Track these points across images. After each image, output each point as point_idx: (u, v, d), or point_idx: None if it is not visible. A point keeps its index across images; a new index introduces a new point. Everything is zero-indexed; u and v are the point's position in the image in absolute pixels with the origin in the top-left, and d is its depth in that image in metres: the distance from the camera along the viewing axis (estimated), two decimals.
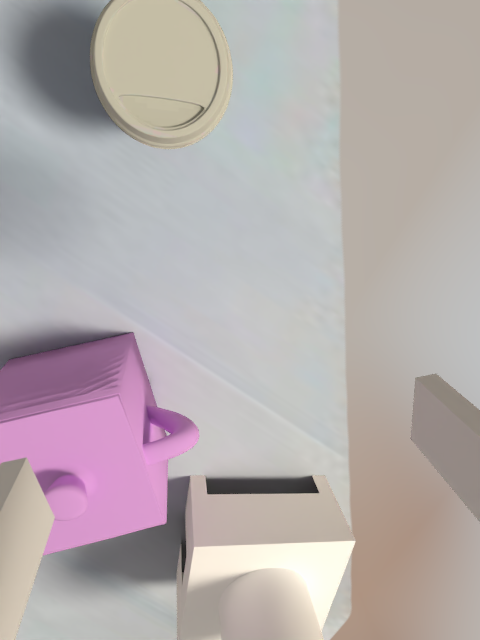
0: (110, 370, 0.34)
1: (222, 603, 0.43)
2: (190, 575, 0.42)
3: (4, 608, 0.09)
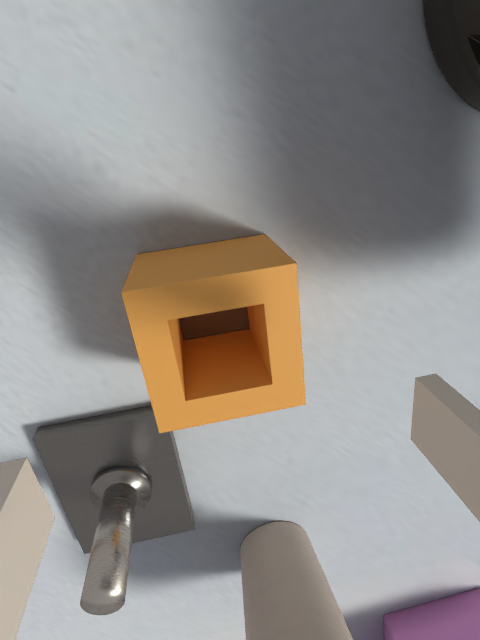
0: None
1: None
2: None
3: (4, 608, 0.09)
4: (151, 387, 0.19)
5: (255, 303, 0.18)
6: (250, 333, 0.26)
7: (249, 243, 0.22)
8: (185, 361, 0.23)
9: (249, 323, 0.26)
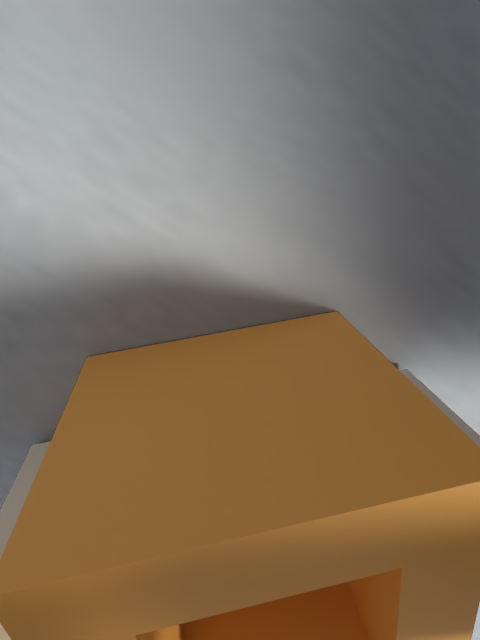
0: None
1: None
2: None
3: None
4: None
5: (380, 570, 0.07)
6: None
7: (317, 343, 0.11)
8: None
9: None
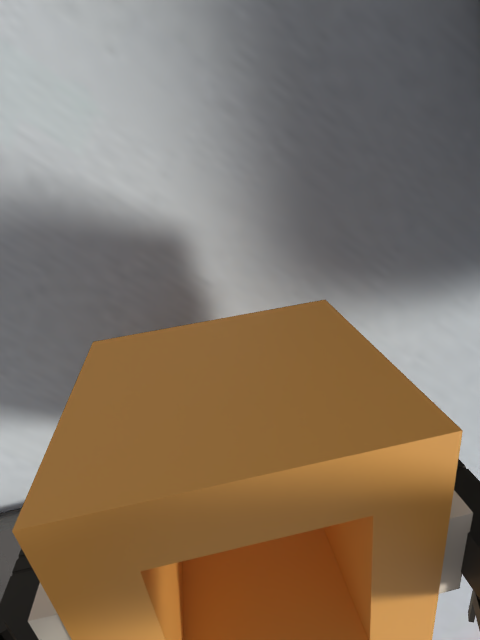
0: None
1: None
2: None
3: None
4: None
5: (353, 517, 0.07)
6: None
7: (305, 327, 0.12)
8: None
9: None
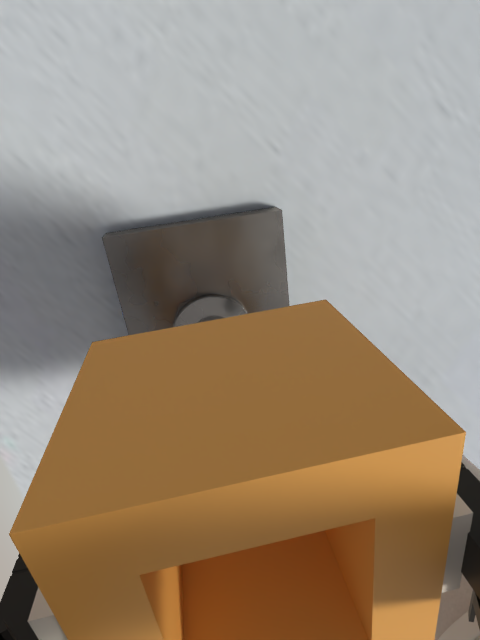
0: None
1: None
2: None
3: None
4: None
5: (355, 520, 0.07)
6: None
7: (306, 328, 0.11)
8: None
9: None
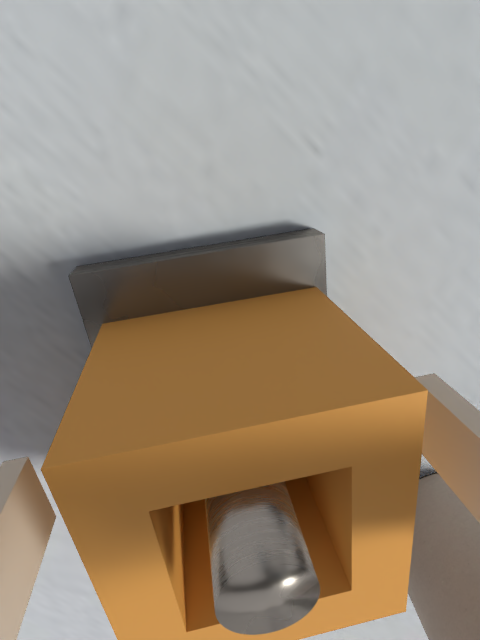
0: None
1: None
2: None
3: (5, 607, 0.10)
4: (118, 620, 0.09)
5: (334, 467, 0.09)
6: None
7: (297, 310, 0.13)
8: (185, 503, 0.14)
9: None
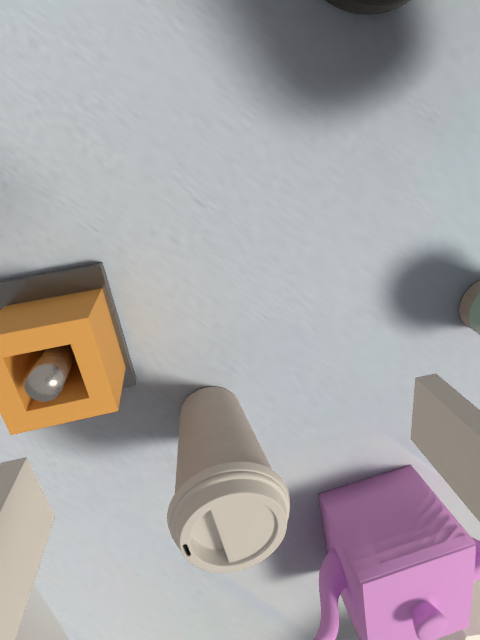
0: (438, 514, 0.43)
1: None
2: None
3: (4, 608, 0.09)
4: None
5: (64, 344, 0.27)
6: None
7: (82, 297, 0.31)
8: None
9: None
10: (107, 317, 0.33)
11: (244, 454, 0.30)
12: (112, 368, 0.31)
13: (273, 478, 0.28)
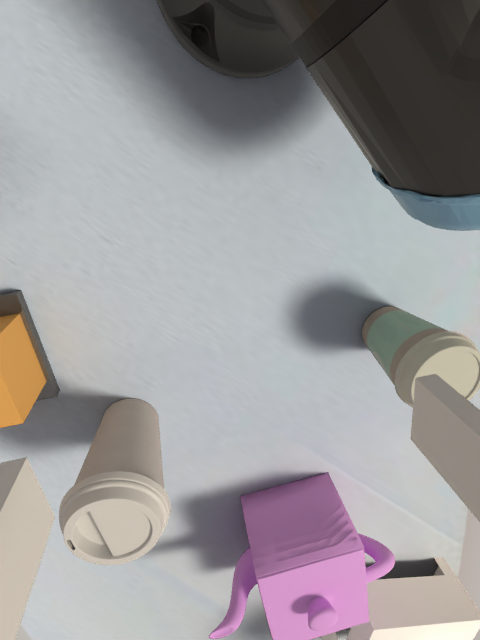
0: (339, 519, 0.48)
1: None
2: None
3: (4, 608, 0.09)
4: None
5: None
6: None
7: None
8: None
9: None
10: (23, 339, 0.37)
11: (130, 464, 0.34)
12: (21, 385, 0.35)
13: (149, 486, 0.33)
